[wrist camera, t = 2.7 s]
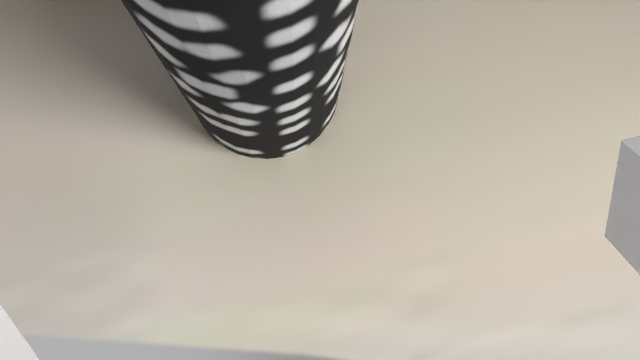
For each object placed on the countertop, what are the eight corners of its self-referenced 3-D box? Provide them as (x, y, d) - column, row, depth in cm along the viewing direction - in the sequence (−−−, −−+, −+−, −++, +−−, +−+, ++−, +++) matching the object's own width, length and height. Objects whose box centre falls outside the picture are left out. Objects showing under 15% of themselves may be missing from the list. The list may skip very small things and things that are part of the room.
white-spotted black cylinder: (301, -4, 35) (303, -361, 15) (362, 122, 34) (449, -87, 14) (169, 51, 34) (-8, -249, 15) (227, 182, 33) (122, 49, 14)
